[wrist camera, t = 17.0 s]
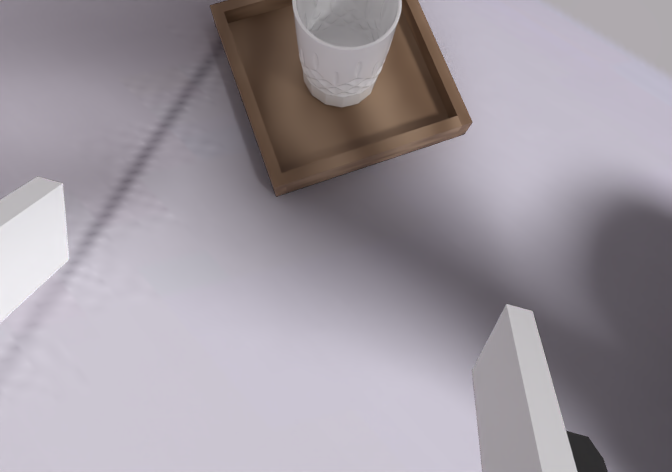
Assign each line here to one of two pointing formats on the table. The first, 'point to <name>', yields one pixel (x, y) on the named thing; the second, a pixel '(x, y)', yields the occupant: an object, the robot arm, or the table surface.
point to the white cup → (344, 46)
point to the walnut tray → (330, 121)
